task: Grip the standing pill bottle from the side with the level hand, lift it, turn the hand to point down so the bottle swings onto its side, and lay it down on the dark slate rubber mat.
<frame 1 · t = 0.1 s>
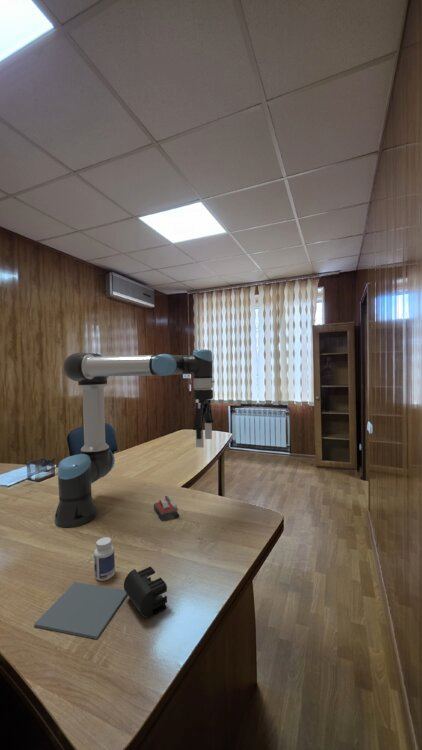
hand: (204, 442, 122), 28 cm above the table, tool pointing down, fingers open, 13 cm apart
end cap: (145, 605, 76), on the table
mat: (84, 608, 75), on the table
pill bottle: (105, 575, 87), on the table
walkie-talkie: (165, 510, 127), on the table
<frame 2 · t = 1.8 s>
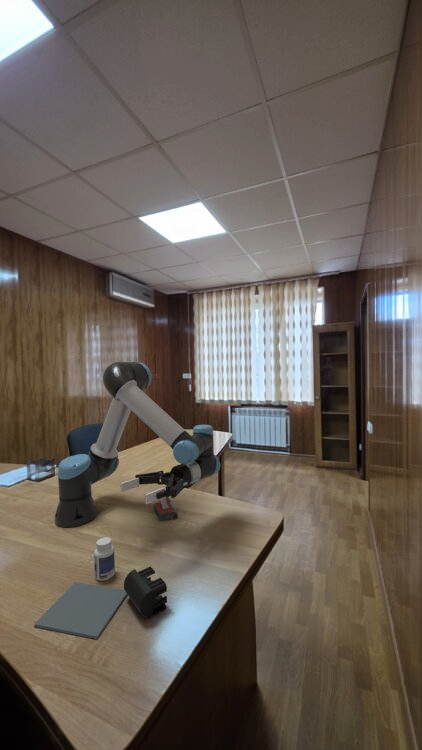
hand: (132, 493, 94), 20 cm above the table, tool horizontal, fingers open, 13 cm apart
nothing on the table moved.
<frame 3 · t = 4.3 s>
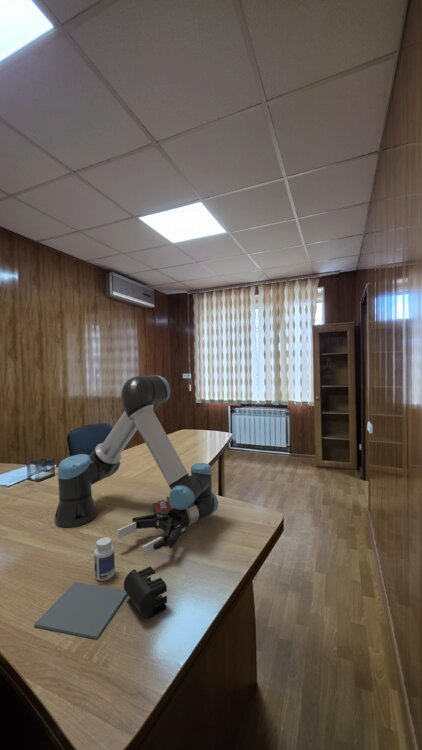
hand: (129, 542, 93), 6 cm above the table, tool horizontal, fingers open, 13 cm apart
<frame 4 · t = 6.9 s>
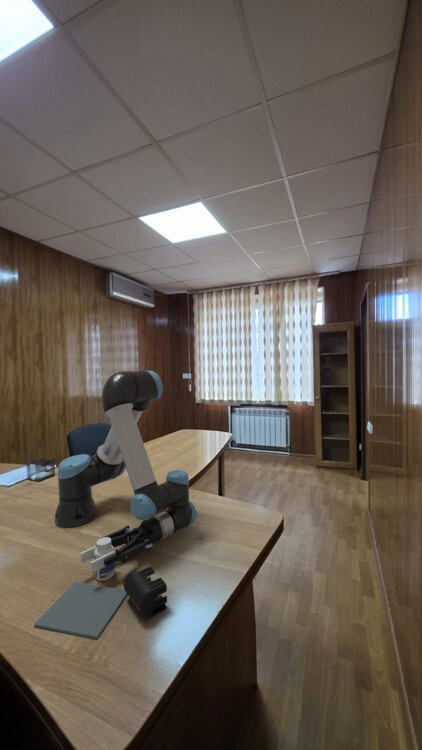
hand: (86, 562, 83), 6 cm above the table, tool horizontal, fingers closed on pill bottle, 5 cm apart
pill bottle: (105, 575, 87), on the table, touching gripper
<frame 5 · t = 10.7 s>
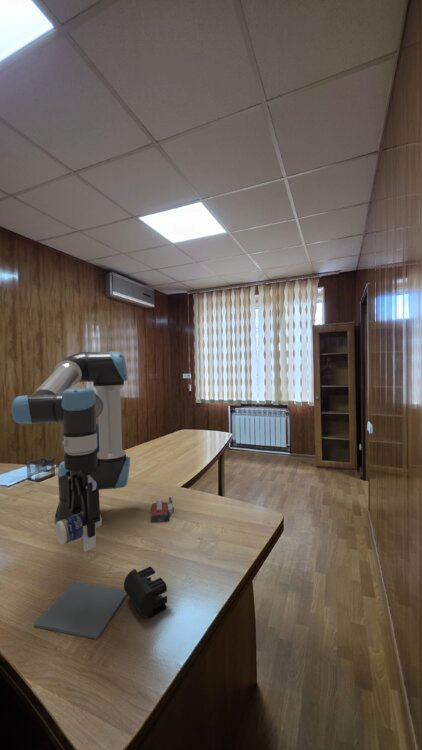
hand: (84, 543, 77), 15 cm above the table, tool pointing down, fingers closed on pill bottle, 5 cm apart
pill bottle: (58, 534, 73), point 20 cm above the table, touching gripper
when the fingers open (2 cm above the table, at t = 14.0 s): pill bottle drops 4 cm, resting on mat.
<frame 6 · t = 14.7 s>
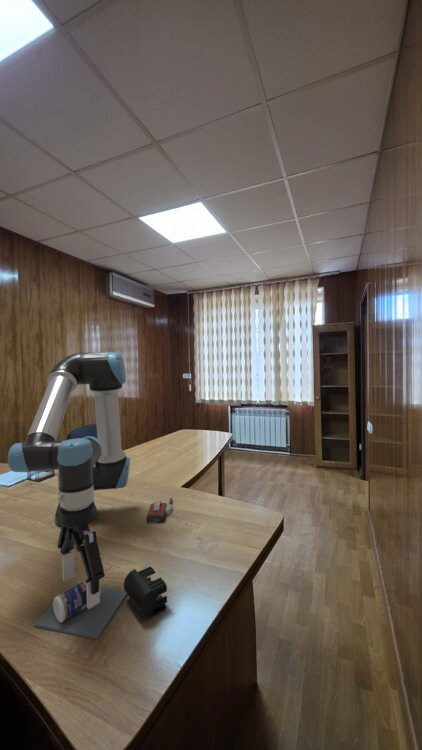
hand: (80, 591, 75), 4 cm above the table, tool pointing down, fingers open, 13 cm apart
pill bottle: (56, 610, 71), point 3 cm above the table, touching mat
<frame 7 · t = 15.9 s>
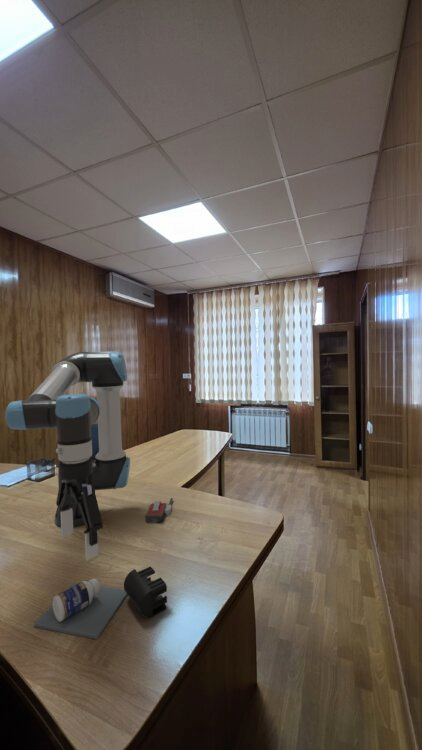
hand: (79, 545, 75), 15 cm above the table, tool pointing down, fingers open, 13 cm apart
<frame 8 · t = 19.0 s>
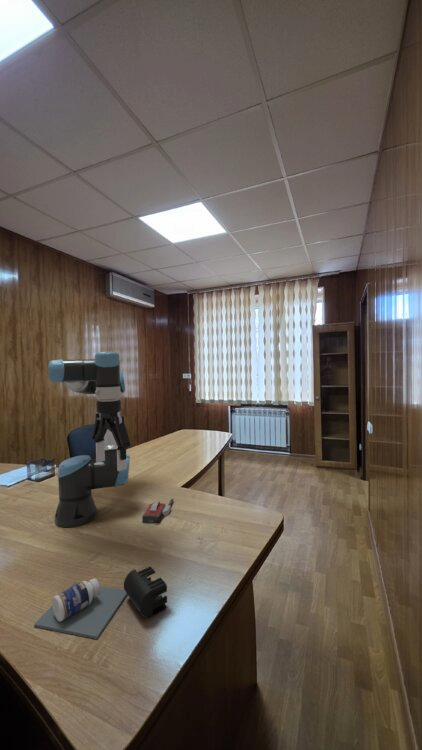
hand: (110, 465, 100), 27 cm above the table, tool pointing down, fingers open, 13 cm apart
at the end: pill bottle tilted 90°; pill bottle touching mat; the gripper is holding nothing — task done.
